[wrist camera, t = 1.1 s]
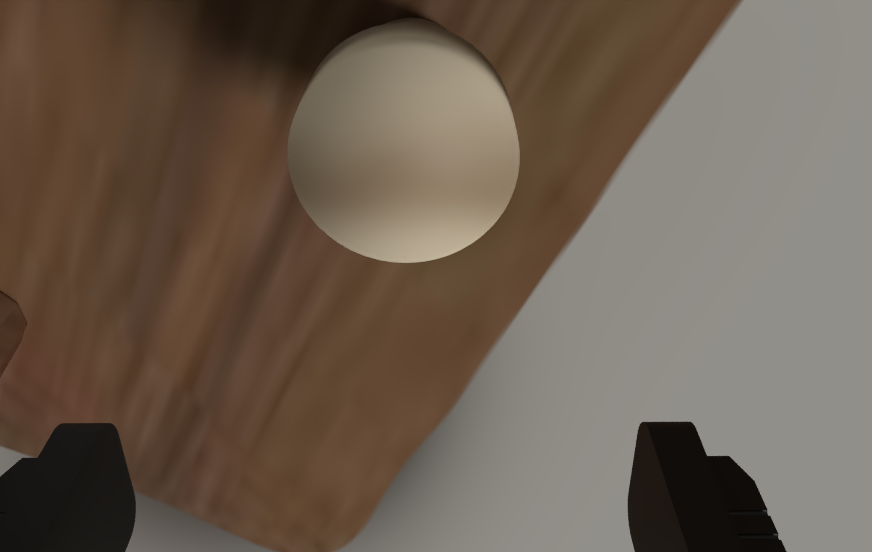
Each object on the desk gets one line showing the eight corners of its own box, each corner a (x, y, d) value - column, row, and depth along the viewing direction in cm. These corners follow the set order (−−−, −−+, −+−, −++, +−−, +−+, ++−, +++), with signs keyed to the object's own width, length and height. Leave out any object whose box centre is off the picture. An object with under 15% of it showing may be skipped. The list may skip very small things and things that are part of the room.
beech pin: (315, -19, 28) (275, 47, 21) (503, -20, 28) (525, 45, 21) (329, 157, 32) (298, 263, 25) (498, 156, 31) (514, 262, 25)
